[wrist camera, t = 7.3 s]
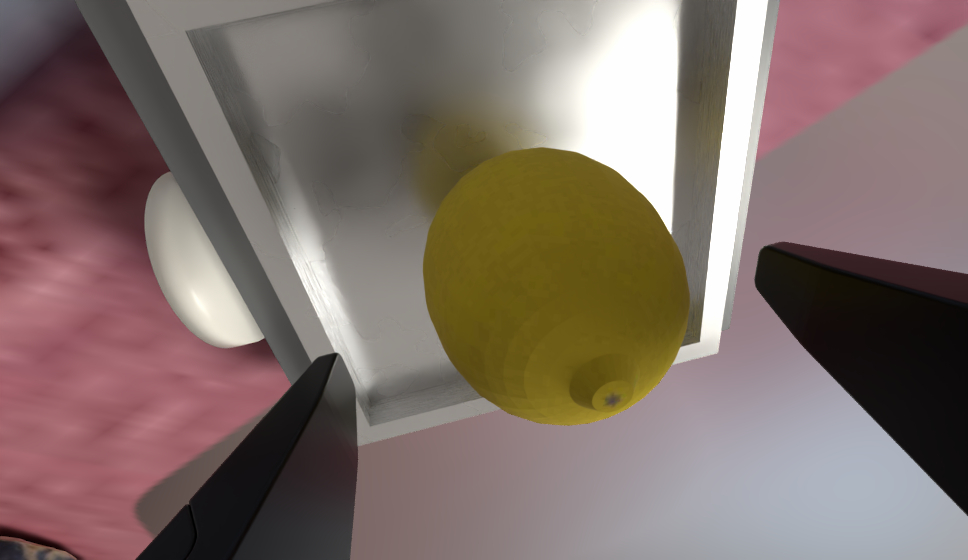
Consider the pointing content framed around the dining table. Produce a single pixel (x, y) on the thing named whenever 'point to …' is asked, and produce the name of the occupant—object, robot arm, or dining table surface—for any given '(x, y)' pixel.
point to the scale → (214, 225)
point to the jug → (29, 551)
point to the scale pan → (450, 148)
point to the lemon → (555, 286)
